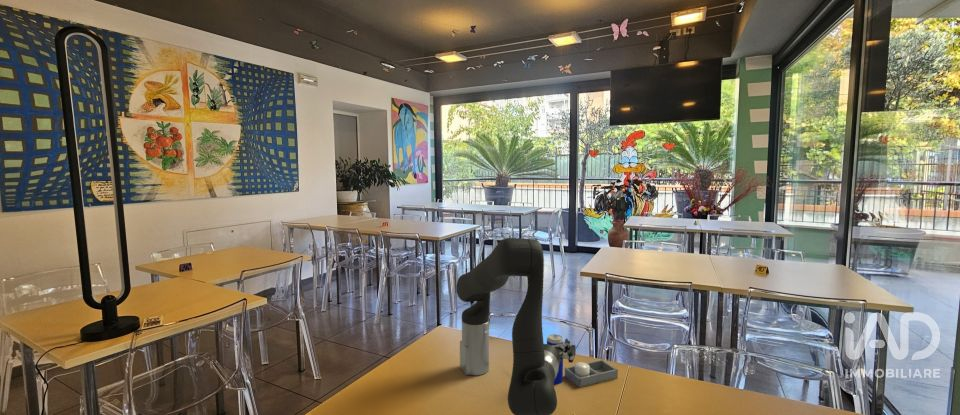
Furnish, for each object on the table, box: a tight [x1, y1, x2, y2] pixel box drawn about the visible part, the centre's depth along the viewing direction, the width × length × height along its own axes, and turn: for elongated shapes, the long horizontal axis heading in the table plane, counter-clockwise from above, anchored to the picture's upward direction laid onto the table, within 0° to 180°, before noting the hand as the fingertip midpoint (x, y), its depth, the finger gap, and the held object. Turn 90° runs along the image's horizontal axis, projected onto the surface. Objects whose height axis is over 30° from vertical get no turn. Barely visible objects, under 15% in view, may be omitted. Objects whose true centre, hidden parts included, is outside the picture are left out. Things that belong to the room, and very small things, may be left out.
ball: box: [574, 361, 590, 378], centre depth 134 cm, size 5×5×4 cm
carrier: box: [564, 359, 619, 388], centre depth 135 cm, size 15×8×4 cm, turn 113°
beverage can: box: [546, 333, 564, 385], centre depth 133 cm, size 5×5×15 cm
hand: (551, 340), depth 121 cm, fingers open, 8 cm apart
